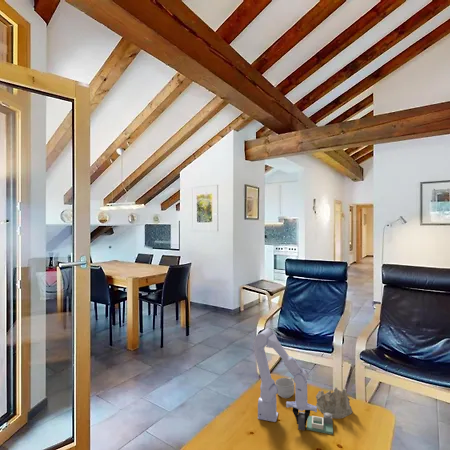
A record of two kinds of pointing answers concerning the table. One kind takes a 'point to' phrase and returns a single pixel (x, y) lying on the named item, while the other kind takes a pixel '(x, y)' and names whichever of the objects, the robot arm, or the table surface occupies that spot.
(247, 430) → the table surface
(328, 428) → the board
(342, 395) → the grey jagged lump
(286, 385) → the teacup
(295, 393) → the robot arm
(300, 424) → the plug
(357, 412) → the table surface
